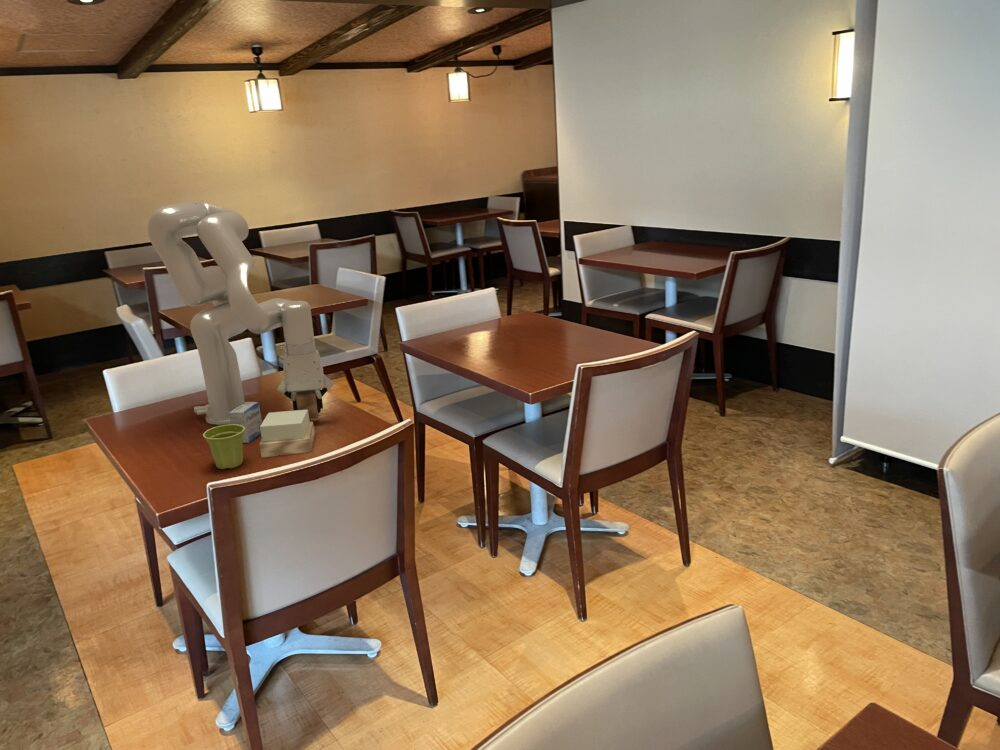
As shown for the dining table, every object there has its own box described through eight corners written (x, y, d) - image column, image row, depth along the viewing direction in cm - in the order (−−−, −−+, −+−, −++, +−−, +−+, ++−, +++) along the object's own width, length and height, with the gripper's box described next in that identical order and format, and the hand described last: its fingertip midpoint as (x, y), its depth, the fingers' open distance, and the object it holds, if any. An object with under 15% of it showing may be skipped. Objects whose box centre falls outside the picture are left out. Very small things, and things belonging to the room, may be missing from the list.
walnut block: (299, 420, 201) (295, 395, 199) (300, 413, 206) (297, 389, 204) (318, 418, 202) (315, 394, 200) (319, 411, 206) (316, 388, 204)
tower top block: (262, 441, 184) (259, 426, 183) (270, 427, 194) (268, 412, 192) (303, 438, 185) (301, 423, 184) (309, 423, 194) (307, 409, 193)
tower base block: (261, 459, 184) (259, 444, 183) (268, 441, 195) (265, 426, 194) (311, 453, 186) (309, 438, 184) (315, 435, 197) (312, 421, 196)
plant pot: (234, 453, 187) (228, 421, 185) (258, 460, 182) (252, 427, 179) (201, 467, 180) (194, 434, 177) (225, 475, 175) (219, 441, 172)
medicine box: (249, 443, 193) (243, 412, 190) (233, 443, 194) (227, 412, 191) (264, 431, 200) (259, 401, 198) (249, 431, 201) (243, 401, 199)
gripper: (265, 354, 193) (275, 420, 199) (332, 349, 195) (340, 414, 201) (269, 346, 200) (278, 410, 206) (334, 341, 202) (341, 404, 208)
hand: (308, 411), depth 203 cm, fingers closed on walnut block, 4 cm apart
